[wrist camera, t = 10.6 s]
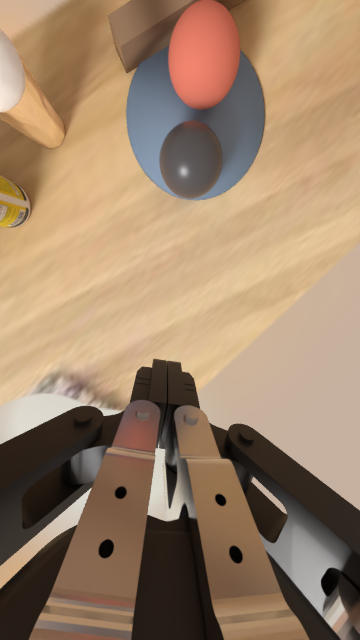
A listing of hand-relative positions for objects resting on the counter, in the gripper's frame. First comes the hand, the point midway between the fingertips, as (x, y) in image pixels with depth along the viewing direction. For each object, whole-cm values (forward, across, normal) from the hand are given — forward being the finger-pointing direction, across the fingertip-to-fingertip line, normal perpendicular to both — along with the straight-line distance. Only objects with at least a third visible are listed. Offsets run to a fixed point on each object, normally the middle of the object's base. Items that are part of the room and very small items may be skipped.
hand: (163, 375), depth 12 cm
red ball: (+14, 0, -22) cm, 26 cm away
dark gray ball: (+14, 0, -15) cm, 20 cm away
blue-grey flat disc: (+17, 0, -19) cm, 25 cm away
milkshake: (+17, +15, -16) cm, 27 cm away
